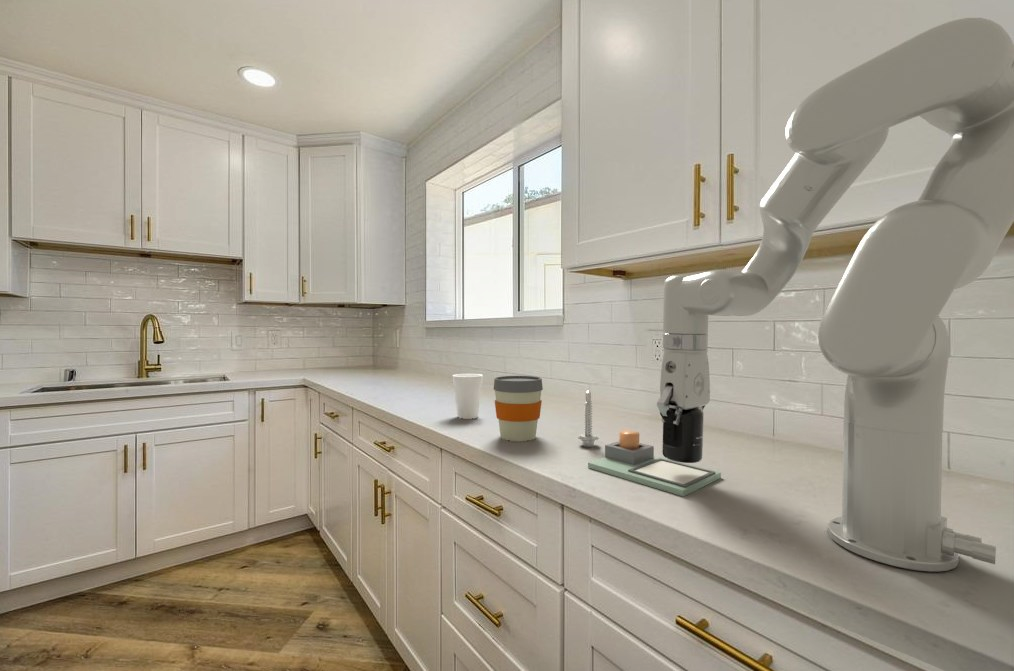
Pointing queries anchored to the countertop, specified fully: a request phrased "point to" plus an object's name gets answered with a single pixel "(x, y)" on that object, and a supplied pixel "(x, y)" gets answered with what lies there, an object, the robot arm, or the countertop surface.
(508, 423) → the reusable coffee cup
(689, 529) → the countertop surface
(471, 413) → the foam cup
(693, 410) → the supplement bottle
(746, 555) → the countertop surface
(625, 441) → the button
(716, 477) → the mint green tray
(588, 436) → the screw
